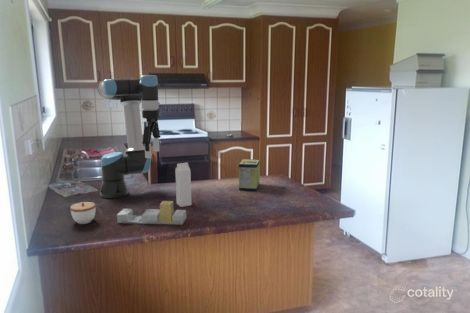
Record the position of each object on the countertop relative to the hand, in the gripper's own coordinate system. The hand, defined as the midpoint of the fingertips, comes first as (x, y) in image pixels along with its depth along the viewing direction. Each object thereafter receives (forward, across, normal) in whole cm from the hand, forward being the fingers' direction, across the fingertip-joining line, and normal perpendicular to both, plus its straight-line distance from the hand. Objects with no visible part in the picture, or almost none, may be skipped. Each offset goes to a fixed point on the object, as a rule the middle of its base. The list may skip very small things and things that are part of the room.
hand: (152, 154), depth 180 cm
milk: (+29, +12, -12) cm, 34 cm away
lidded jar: (+29, -14, +29) cm, 44 cm away
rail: (+29, -11, -2) cm, 31 cm away
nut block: (+28, -11, -9) cm, 31 cm away
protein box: (+30, +45, -45) cm, 70 cm away
